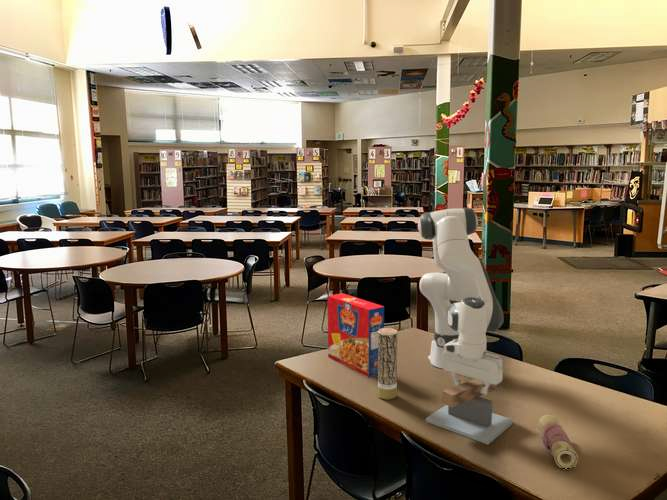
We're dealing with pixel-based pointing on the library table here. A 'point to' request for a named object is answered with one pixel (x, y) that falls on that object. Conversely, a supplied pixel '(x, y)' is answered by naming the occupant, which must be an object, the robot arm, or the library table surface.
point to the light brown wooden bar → (464, 392)
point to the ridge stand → (471, 420)
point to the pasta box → (354, 332)
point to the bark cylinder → (387, 363)
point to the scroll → (557, 442)
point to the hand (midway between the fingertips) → (470, 389)
